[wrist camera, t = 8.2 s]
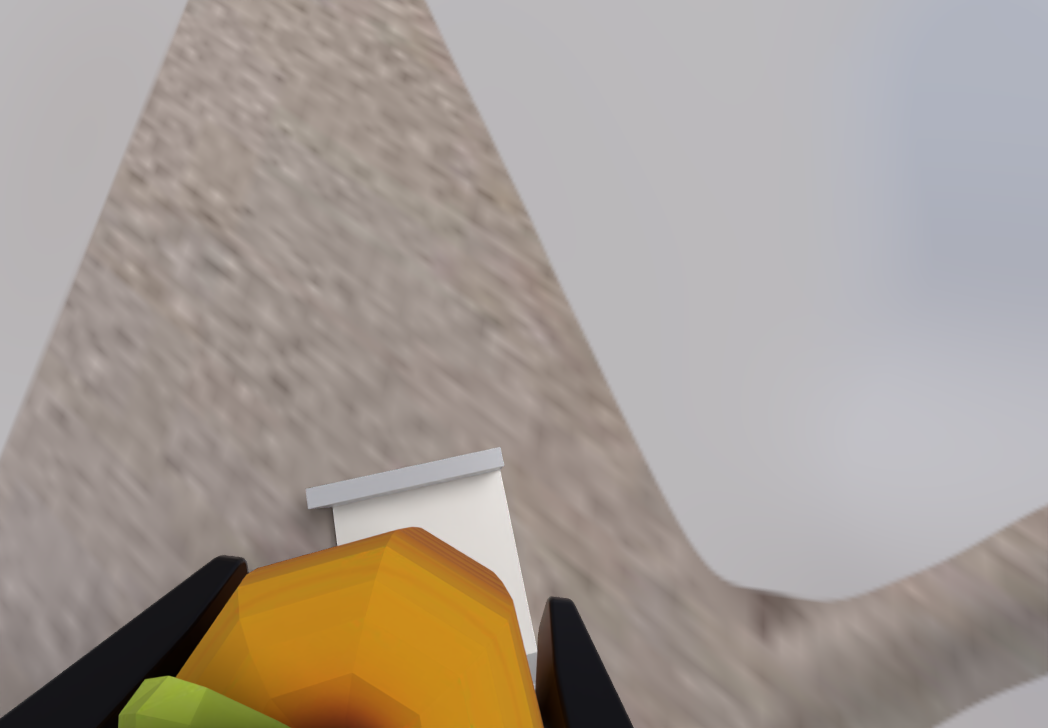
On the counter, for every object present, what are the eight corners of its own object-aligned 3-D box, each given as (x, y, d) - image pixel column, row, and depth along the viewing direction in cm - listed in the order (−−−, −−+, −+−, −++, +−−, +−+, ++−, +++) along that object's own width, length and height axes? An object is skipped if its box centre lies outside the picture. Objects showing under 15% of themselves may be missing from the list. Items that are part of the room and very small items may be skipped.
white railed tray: (538, 663, 18) (553, 702, 15) (365, 712, 17) (338, 765, 14) (495, 455, 20) (500, 446, 16) (335, 490, 19) (305, 488, 15)
